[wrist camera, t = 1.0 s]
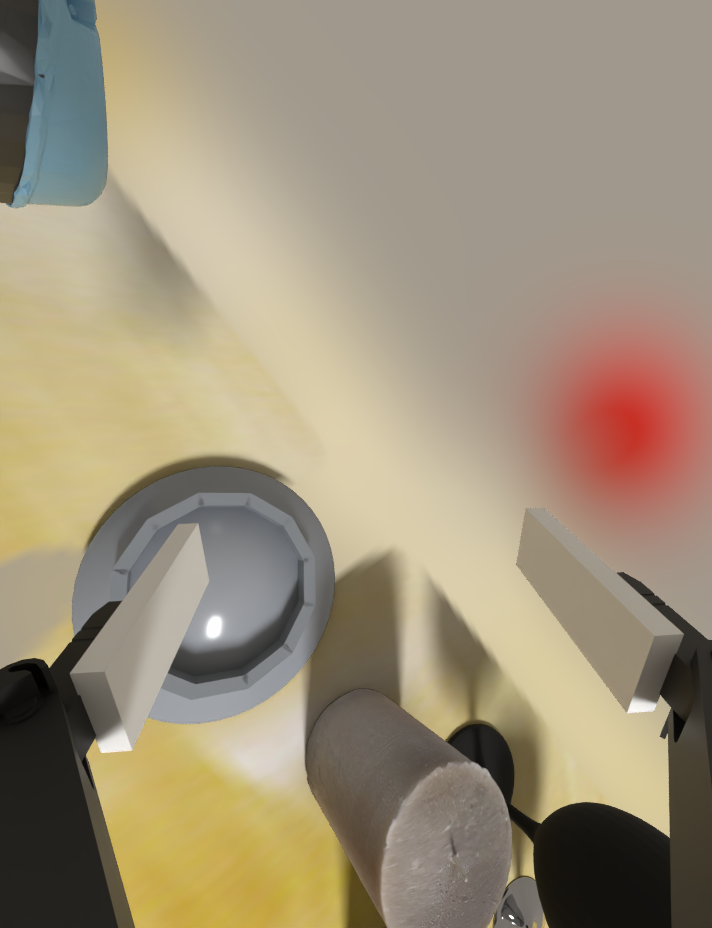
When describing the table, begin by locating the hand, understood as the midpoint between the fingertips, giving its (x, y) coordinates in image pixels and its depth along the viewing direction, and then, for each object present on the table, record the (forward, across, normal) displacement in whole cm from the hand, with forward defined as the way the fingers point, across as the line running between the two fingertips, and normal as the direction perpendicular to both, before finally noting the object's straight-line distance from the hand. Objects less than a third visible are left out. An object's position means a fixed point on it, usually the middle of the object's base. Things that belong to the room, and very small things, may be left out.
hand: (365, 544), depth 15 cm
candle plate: (+14, -11, -12) cm, 22 cm away
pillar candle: (+10, 0, -28) cm, 29 cm away
